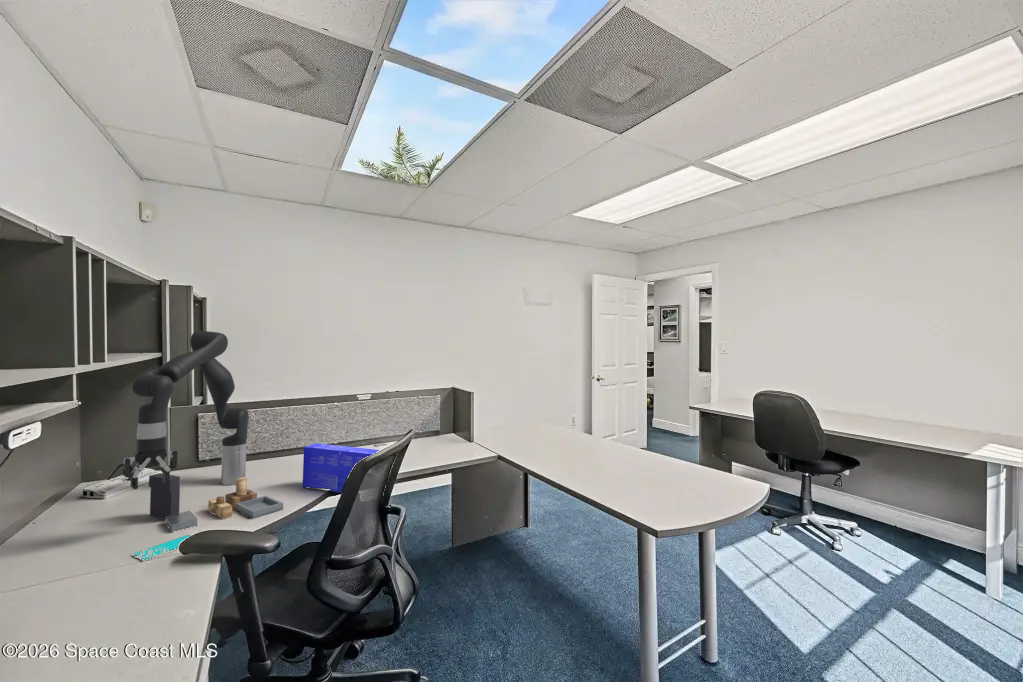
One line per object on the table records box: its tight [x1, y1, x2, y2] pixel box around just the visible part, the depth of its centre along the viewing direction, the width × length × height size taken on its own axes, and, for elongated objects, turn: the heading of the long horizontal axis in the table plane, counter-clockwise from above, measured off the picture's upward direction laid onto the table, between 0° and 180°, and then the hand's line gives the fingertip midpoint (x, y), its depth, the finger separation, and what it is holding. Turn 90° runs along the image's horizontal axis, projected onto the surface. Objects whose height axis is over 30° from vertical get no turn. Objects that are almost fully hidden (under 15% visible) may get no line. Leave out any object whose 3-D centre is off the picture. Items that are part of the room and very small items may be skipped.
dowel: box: [235, 476, 248, 497], centre depth 168 cm, size 4×4×10 cm
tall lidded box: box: [148, 472, 181, 520], centre depth 154 cm, size 11×4×15 cm, turn 71°
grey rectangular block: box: [164, 510, 198, 533], centre depth 148 cm, size 10×7×3 cm
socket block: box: [224, 488, 258, 510], centre depth 168 cm, size 8×8×4 cm
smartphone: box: [134, 534, 191, 562], centre depth 132 cm, size 7×1×15 cm
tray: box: [235, 495, 284, 520], centre depth 163 cm, size 13×11×2 cm
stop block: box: [207, 496, 233, 520], centre depth 158 cm, size 12×3×6 cm, turn 56°
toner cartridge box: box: [302, 442, 380, 494], centre depth 186 cm, size 39×8×18 cm, turn 73°
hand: (150, 485), depth 141 cm, fingers open, 7 cm apart
